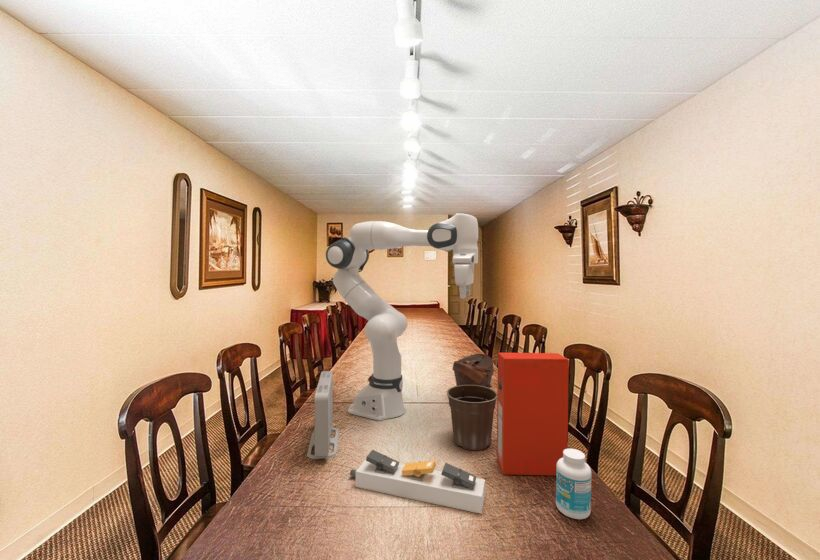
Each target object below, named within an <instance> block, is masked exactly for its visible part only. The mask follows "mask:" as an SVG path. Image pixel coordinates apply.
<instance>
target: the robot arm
mask: <svg viewBox="0 0 820 560" xmlns="http://www.w3.org/2000/svg"><path fill="white" fill-rule="evenodd" d="M478 222H479V221H478V219H477V217H476V216H475V215H473V214H471V213H466V212H457V213H455V214H454V215H453V216H451V217H450V218H448V219H445V220H443V221H440V222H437V223H434V224H432V225H431V226H430V227H429V229H428V230H427V229H412V228H408V227H406V226H402V225H400V224H397V223H393V222H390V221H384V220H383V221H381V220H369V221H363V222H358V223H356V224H354V225H353V226H352V227H351V228H350V232H349V237H342V238H340V239H338V240H336V241H334V242H333V243H331V244H330V245H329V246H328V247H327V248H326V251H325V259H326V261H327V263H328V265H330V266H331V267H332V268H335V269H337V271H336V272H335V273H334V275H333V277H332V283H333V285H334V287H335V289H336V290H337V292H338V293H339V294H340V296H341V297H342V299H344V301H346V304H348V306H350V308H351V309H352V310H353V311H354V312H355V313H356V314H357V315H358V316H359V317H362V318H364V319H365V320H367V322H366V323H365V326H364V335H365V337H366V339H367V340H368V341H369V344H370V348H371V353H372V365H373V367H372V368H373V369H372V371H373V373H371V375H370V376H368V378H367V383H368V384H367V385H366V386H364V387H363V388H362V389H360V390H359V391H358V392H357V393H356V395H355V396H354V402H352V403H351V404H350V405H349V407H348V409H347V413H348V414H350V415H353V416H354V415H355V416H358V417H363V418H367V419H371V420H375V421H377V422H378V421H383V420H386V419H392V418H393V419H394V418H397V417H401V416H402V415H404V414H405V412H406V408H405V403H404V398H403V387H404V385H403V384H404V380H403V374H402V354H401V352H400V350H399V345H398V338H399V337H400V336H402V335H403V334H404V333H405V331H406V330H407V329H408V319H407V317H406V315H405V314H404V313H402V312H401V311H398V310H397V309H396V308H395V307H394V306H392V305H391V304H389V303H388V301H386V300H384V299H383V298H382V297H381V296H379V294H378V293H377V292H376V291H374V289H373V288H372V287H371V286H370V285H369V284H368V282H367V281H365V280H364V279H363V277H362V276H361V274H360V272H362V271H363V270H364V268H365V266H366V264H367V263H368V261H369V259H370V252H369V250H375V251H376V250H381V251H382V250H391V249H397V248H404V247H409V246H410V247H414V246H415V247H417V246H418V247H421V246H422V247H432V248H434V249H436V250H439V251H440V250H441V251H444V252H446V253H448V252H449V253H450V252H452V259H451V260H452V263H453V269H454V284H455V285H456V286H458V287H459V288H458V289H459V297H460V299H464V300H465V299H466V298H467V297H469V296H470V293H471V285H472V284H474V274H475V273H474V272H475V271H474V269H475V264H476V265H477V264H479V247H478V241H479V223H478Z"/></svg>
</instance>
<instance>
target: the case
mask: <svg viewBox="0 0 820 560" xmlns="http://www.w3.org/2000/svg"><path fill="white" fill-rule="evenodd" d="M452 364H453V365H452V371H453V372H454V373H453V374H454V378H455V383H456V384H455V386H459V385H479V386H484V387H488V388H490V389H492V386H493V385H491V383H492V379H493V376H494V360H493V359H492V358H491V357H490V356H489V355H487V354H485V353H474V354H470V355H468V356H464V357H463V358H461V359H459V360H455V361H454V362H453V363H452Z"/></svg>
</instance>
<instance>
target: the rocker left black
mask: <svg viewBox="0 0 820 560" xmlns="http://www.w3.org/2000/svg"><path fill="white" fill-rule="evenodd" d="M365 460H366V461H368V462H370V463H372V464H374V465H376V467H377V469H379V470H382V469H385V470H387V471H389V472H391V473H393V474H394V472H395V471H396V469H397V468H398V466H399V464H400V461H398V460H396V459H393V458H391V457H390V456H388V455H385V454H383V453H381V452H379V451H376V450H374V449H372V450H371V451H370V452H369V453H368V455H367V456H366V458H365Z"/></svg>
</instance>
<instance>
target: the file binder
mask: <svg viewBox="0 0 820 560" xmlns="http://www.w3.org/2000/svg"><path fill="white" fill-rule="evenodd" d="M569 365H570V359H569V358H567V357H566V356H563V355H562V354H561V353H559V352H557V353H556V352H497V392H496V393H497V399H496V402H497V403H496V404H497V406H496V409H497V410H496V412H497V413H496V417H497V418H496V421H497V422H496V461H497V464H498V466H499V469H500V471H501V474H502V475H507V476H508V475H511V476H512V475H513V476H514V475H515V476H517V475H518V476H556V466H557V462H558V460H559V459H560V458H563V451H564V450H565V449H568V442H569V441H568V439H569V438H568V435H569V430H568V429H569V382H570V381H569V373H570V372H569V369H570V368H569V367H570V366H569Z"/></svg>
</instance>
